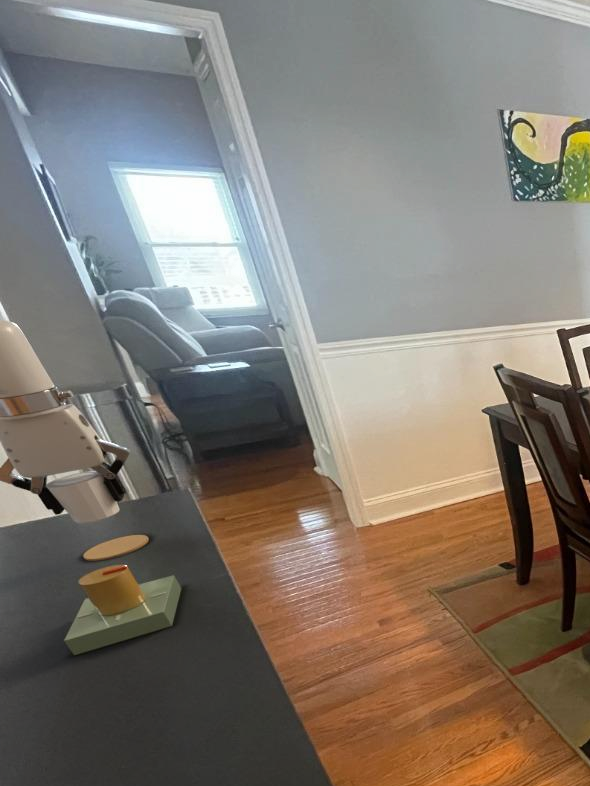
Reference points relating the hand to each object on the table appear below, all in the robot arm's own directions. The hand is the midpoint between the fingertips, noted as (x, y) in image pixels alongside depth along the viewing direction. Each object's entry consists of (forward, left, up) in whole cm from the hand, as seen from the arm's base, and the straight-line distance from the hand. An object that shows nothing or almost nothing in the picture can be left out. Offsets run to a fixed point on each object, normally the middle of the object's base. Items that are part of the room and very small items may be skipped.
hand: (90, 504), depth 101 cm
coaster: (0, 0, -9) cm, 9 cm away
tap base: (+6, -31, -9) cm, 33 cm away
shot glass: (0, 0, -2) cm, 2 cm away
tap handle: (+6, -31, -6) cm, 32 cm away
